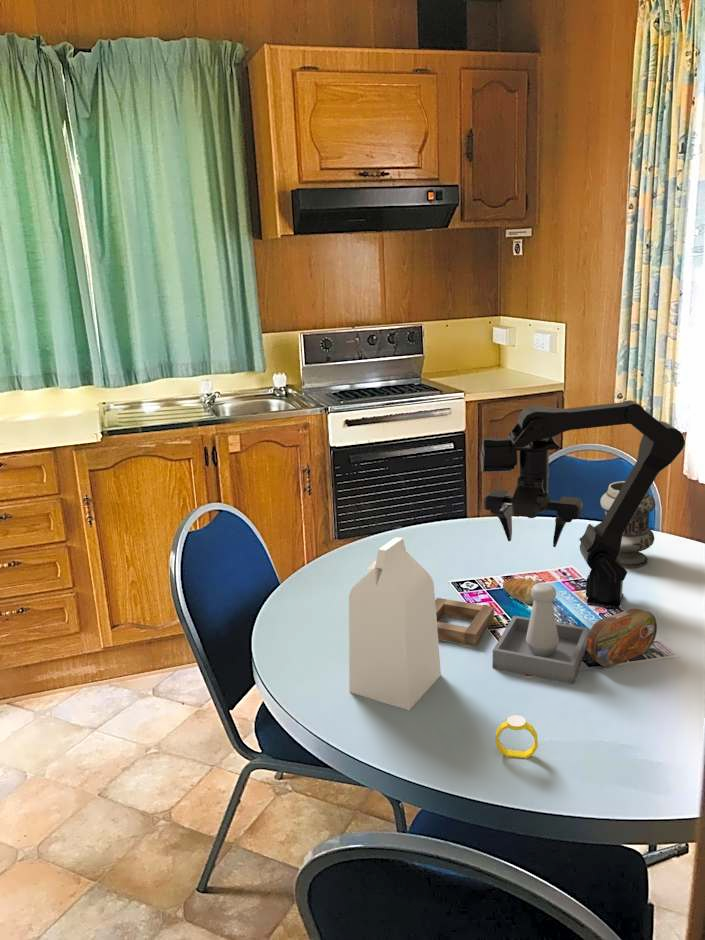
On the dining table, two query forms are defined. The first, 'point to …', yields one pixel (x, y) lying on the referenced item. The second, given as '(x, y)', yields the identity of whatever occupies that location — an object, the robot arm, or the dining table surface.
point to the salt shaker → (542, 622)
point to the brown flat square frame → (470, 611)
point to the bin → (520, 659)
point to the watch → (516, 724)
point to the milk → (393, 630)
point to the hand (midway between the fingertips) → (531, 543)
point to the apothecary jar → (632, 528)
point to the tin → (621, 637)
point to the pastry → (520, 589)
